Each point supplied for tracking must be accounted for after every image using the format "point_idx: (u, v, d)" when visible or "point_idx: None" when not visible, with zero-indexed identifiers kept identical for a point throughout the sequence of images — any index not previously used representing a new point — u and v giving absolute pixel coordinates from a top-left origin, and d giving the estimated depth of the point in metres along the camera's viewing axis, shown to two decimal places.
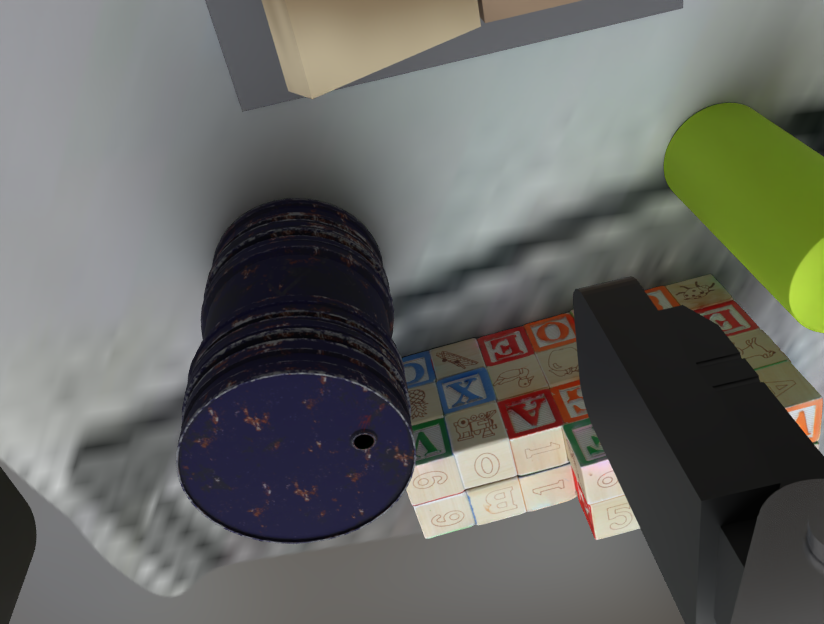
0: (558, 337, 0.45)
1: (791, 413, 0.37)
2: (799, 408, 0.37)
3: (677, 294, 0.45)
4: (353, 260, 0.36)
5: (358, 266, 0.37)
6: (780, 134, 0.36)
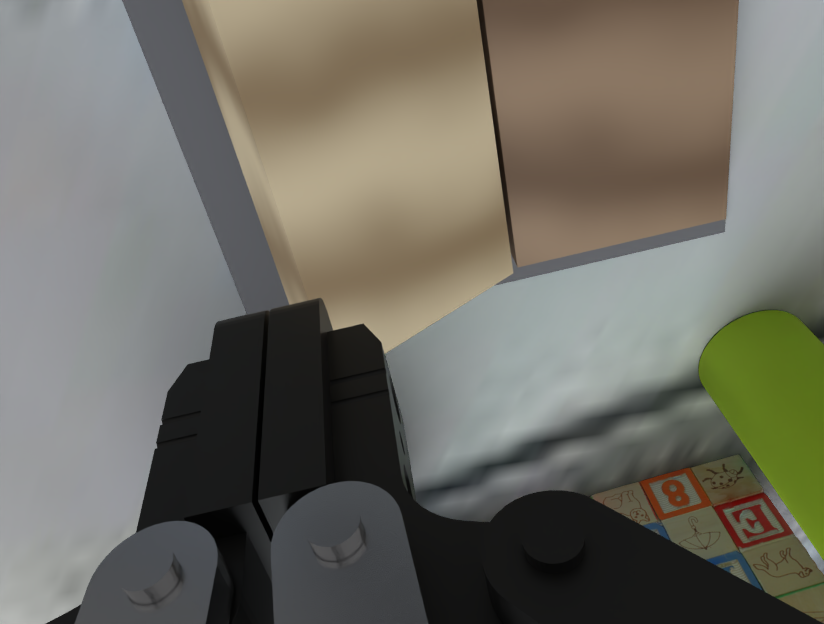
0: None
1: None
2: None
3: (704, 480, 0.43)
4: None
5: None
6: None
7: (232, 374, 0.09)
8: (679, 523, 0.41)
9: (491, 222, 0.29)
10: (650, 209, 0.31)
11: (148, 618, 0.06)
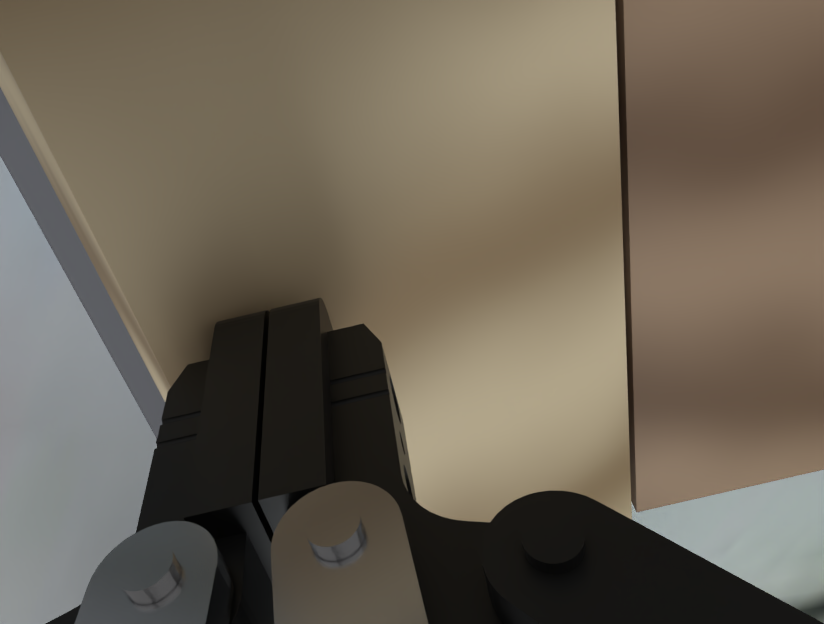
0: None
1: None
2: None
3: None
4: None
5: None
6: None
7: (232, 374, 0.09)
8: None
9: (608, 468, 0.18)
10: None
11: (148, 619, 0.06)
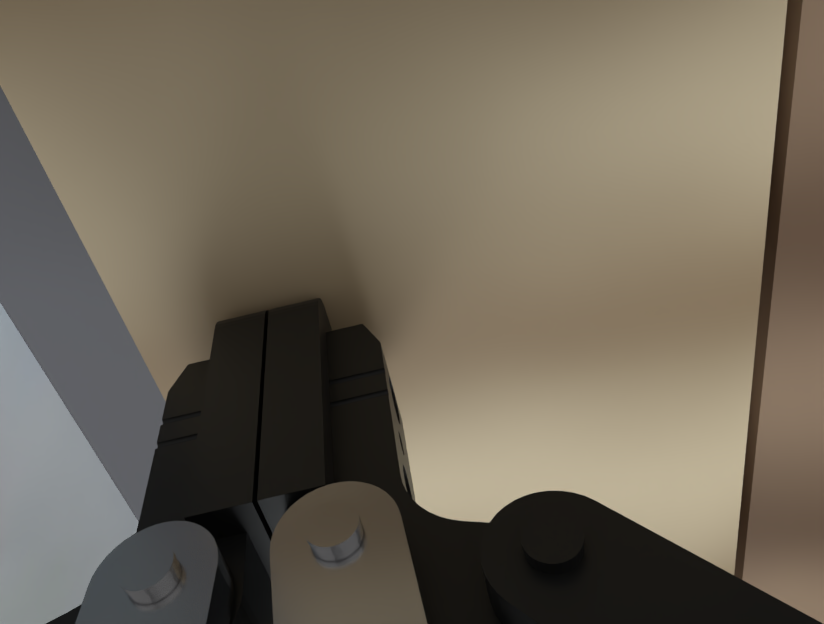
0: None
1: None
2: None
3: None
4: None
5: None
6: None
7: (233, 374, 0.09)
8: None
9: None
10: None
11: (149, 618, 0.06)
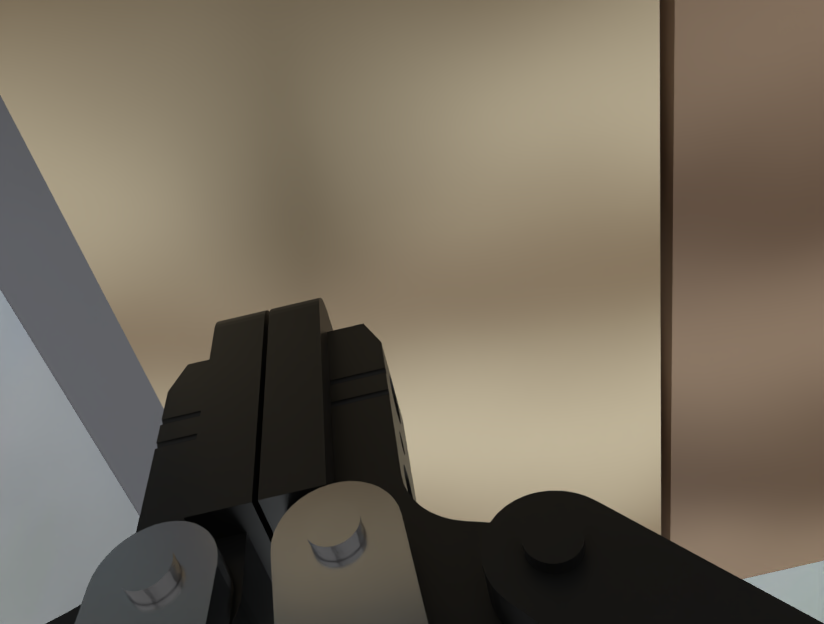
0: None
1: None
2: None
3: None
4: None
5: None
6: None
7: (232, 374, 0.09)
8: None
9: None
10: None
11: (148, 618, 0.06)
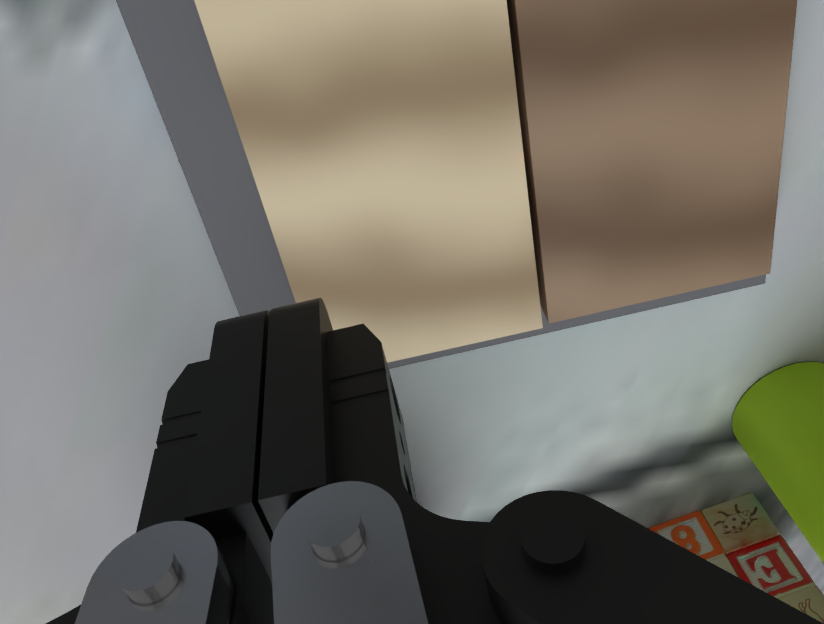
0: None
1: None
2: None
3: (715, 524, 0.40)
4: None
5: None
6: None
7: (232, 374, 0.09)
8: None
9: (516, 272, 0.28)
10: (691, 263, 0.29)
11: (148, 618, 0.06)
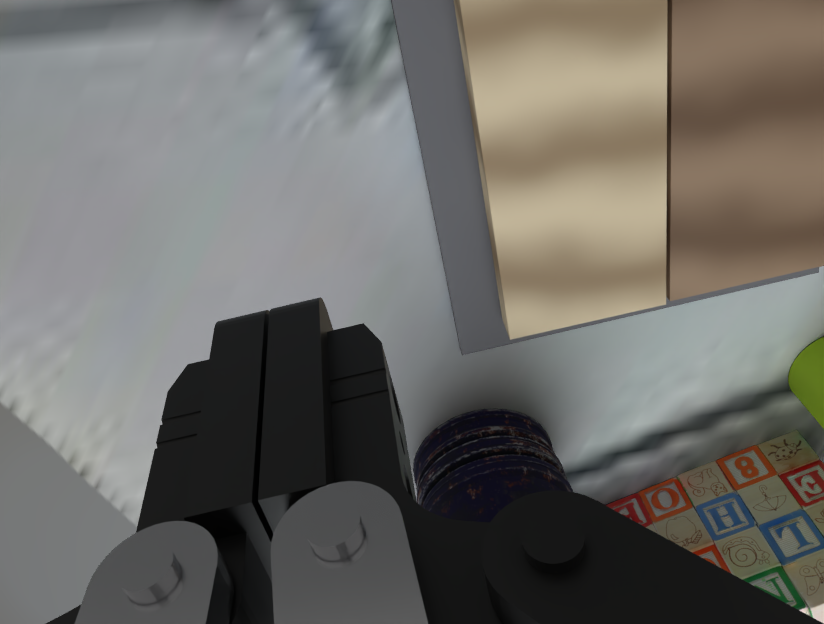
0: (671, 504, 0.53)
1: None
2: None
3: (769, 454, 0.53)
4: (551, 475, 0.45)
5: (555, 480, 0.45)
6: None
7: (232, 374, 0.09)
8: (751, 491, 0.51)
9: (652, 265, 0.41)
10: (771, 258, 0.41)
11: (148, 618, 0.06)
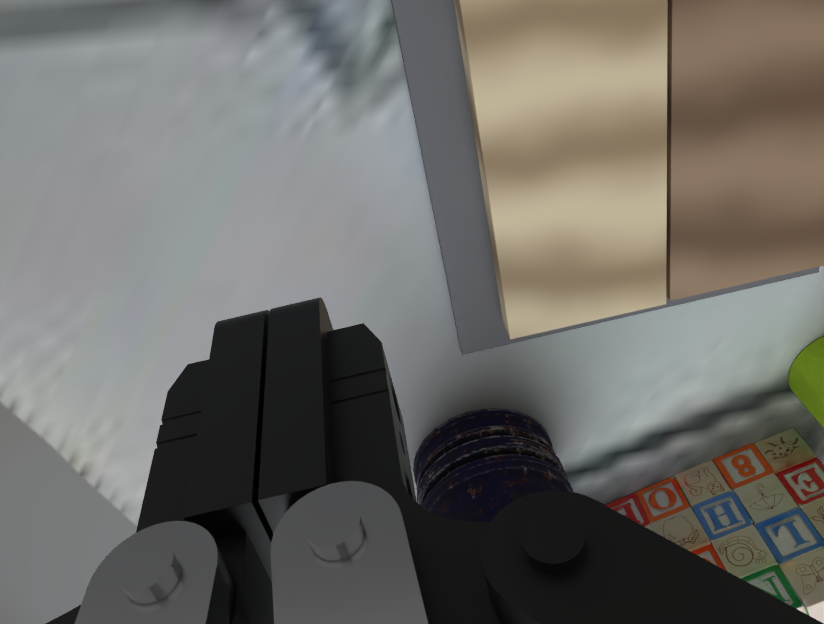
0: (668, 504, 0.53)
1: None
2: None
3: (766, 453, 0.53)
4: (552, 475, 0.45)
5: (555, 479, 0.45)
6: None
7: (232, 374, 0.09)
8: (748, 490, 0.51)
9: (652, 264, 0.41)
10: (771, 258, 0.41)
11: (148, 618, 0.06)
